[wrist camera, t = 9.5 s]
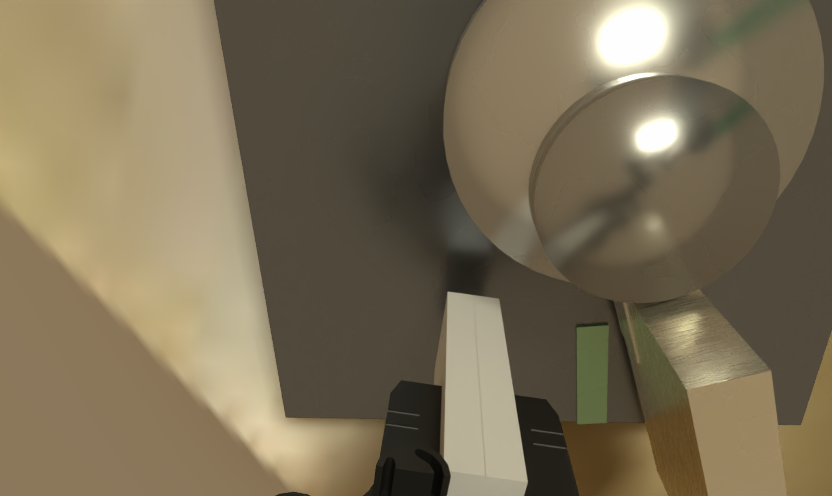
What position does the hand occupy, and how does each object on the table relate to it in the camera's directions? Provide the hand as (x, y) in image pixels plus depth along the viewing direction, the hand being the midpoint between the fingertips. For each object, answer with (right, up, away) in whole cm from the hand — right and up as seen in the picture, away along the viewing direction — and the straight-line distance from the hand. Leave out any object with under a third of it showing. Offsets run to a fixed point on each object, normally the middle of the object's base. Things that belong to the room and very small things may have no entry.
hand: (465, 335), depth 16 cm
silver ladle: (+5, +2, 0) cm, 5 cm away
